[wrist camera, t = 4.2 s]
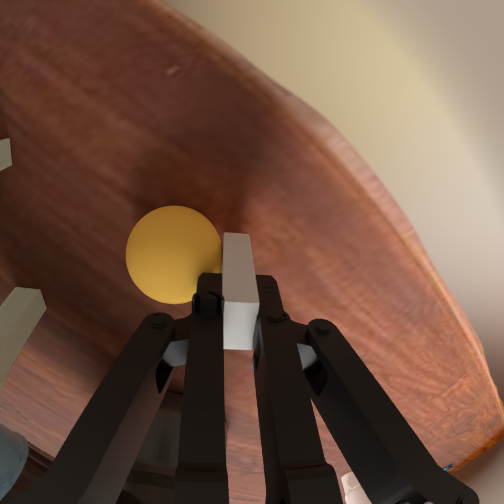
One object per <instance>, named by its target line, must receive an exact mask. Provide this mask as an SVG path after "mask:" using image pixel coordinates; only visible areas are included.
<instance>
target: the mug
mask: <svg viewBox="0 0 504 504" xmlns="http://www.w3.org/2000/svg"><path fill="white" fill-rule="evenodd" d="M341 479H342V483H343V486H344V490H345V494H346V497H345V500H346V504H372V503H371V502H370V500H369V499H368V497H367V496H366V494H365V492H364V490H363V489H362V487H361V485H360V484H359V482H358V480H357V478H356V477H355V475H354V473H353V472H352V471H351V472H349V473H347V474H345V475H344V476H343V477H342V478H341Z"/></svg>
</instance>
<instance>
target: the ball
mask: <svg viewBox="0 0 504 504" xmlns="http://www.w3.org/2000/svg"><path fill="white" fill-rule="evenodd" d="M222 258H223V251H222V244H221V240H220V237H219V235H218V233H217V231H216V229H215V228H214V226H213V225H212V223H211V222H210V221H209V220H208V219H207V218H206V217H205V216H203V215H202V214H200V213H199V212H197V211H195V210H193V209H191V208H187V207H184V206H165V207H161V208H158V209H155V210H153V211H151V212H149V213H148V214H146V215H145V216H144V217H143V218H141V219H140V220H139V221H138V223H137V224H136V225H135V227H134V228H133V230H132V232H131V233H130V236H129V239H128V242H127V246H126V263H127V268H128V271H129V274H130V276H131V278H132V280H133V281H134V283H135V284H136V286H137V287H138V288H139V289H140V290H141V291H142V292H143V293H144V294H146V295H147V296H149V297H150V298H152V299H154V300H156V301H159V302H162V303H168V304H181V303H186V302H189V301H192V297H193V294H195V293H196V289H197V282H198V277H199V276H200V275H201V274H202V273H203V272H205V273H219V272H220V269H221V265H222Z"/></svg>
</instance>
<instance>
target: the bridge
mask: <svg viewBox="0 0 504 504" xmlns="http://www.w3.org/2000/svg"><path fill="white" fill-rule="evenodd" d="M11 165H12V159H11V148H10V138H7V139H2V140H0V171H1V170H3V169H5V168H7V167H9V166H11ZM46 309H47V307H46V305H45V302H44V299H43V296H42V293H41V290H40V289H31V288H22V287H15V288H14V289H13V291H12V292H11V293H10V294H9V296H8V297H7V298H6V299H5V301H4V302H3V303H2V305H1V306H0V388H1V387H2V385H3V383H4V381H5V379H6V377H7V375H8V373H9V371H10V370H11V368H12V366H13V364H14V362H15V360H16V359H17V357H18V355H19V353H20V351H21V350H22V348H23V346H24V345H25V343H26V341H27V339H28V338H29V336H30V334H31V333H32V331H33V330H34V328H35V326H36V325H37V323H38V321H39V320H40V318H41V317H42V315H43V314H44V312H45V311H46Z"/></svg>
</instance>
